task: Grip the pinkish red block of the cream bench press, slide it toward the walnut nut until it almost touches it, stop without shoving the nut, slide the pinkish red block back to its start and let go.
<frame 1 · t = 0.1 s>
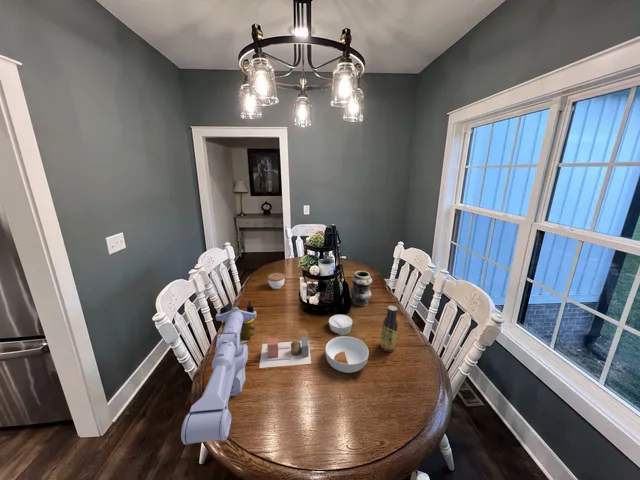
hand: (240, 303, 105), 22 cm above the table, tool horizontal, fingers open, 7 cm apart
pinkish red block: (273, 347, 105), point 5 cm above the table, slide at 0.0 cm
sauce bottle: (387, 348, 112), on the table
cereal bowl: (346, 364, 103), on the table
walnut: (296, 352, 107), point 1 cm above the table, touching press base
condiment: (246, 337, 119), on the table
apothecary jar: (360, 302, 150), on the table
ramekin: (340, 330, 124), on the table
lidded jar: (276, 287, 168), on the table
press base: (285, 356, 107), on the table
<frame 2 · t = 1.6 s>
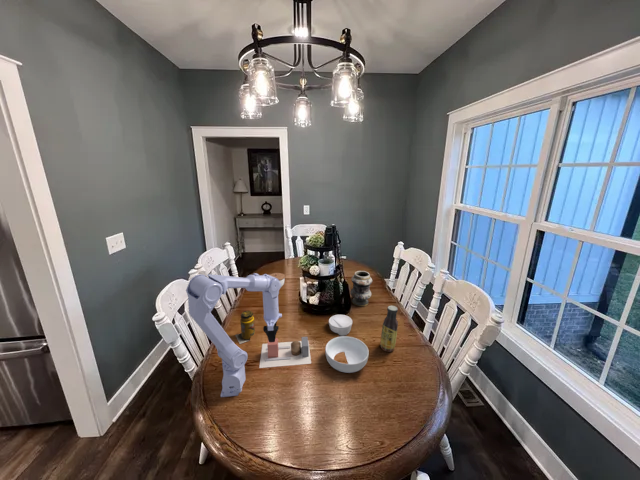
hand: (272, 335, 103), 10 cm above the table, tool pointing down, fingers open, 7 cm apart
nothing on the table moved.
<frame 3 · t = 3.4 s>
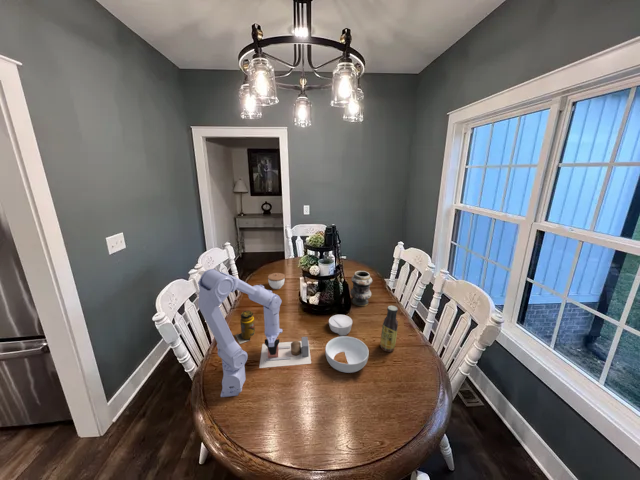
hand: (273, 350, 105), 3 cm above the table, tool pointing down, fingers closed on pinkish red block, 4 cm apart
pinkish red block: (273, 347, 105), point 5 cm above the table, slide at 0.0 cm, touching gripper
everything else where it was.
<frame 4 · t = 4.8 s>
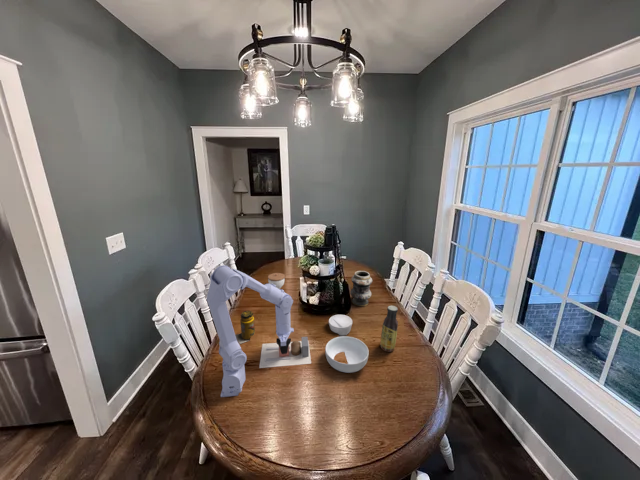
hand: (284, 349, 106), 3 cm above the table, tool pointing down, fingers closed on pinkish red block, 4 cm apart
pinkish red block: (284, 346, 105), point 5 cm above the table, slide at 4.4 cm, touching gripper
everything else where it was.
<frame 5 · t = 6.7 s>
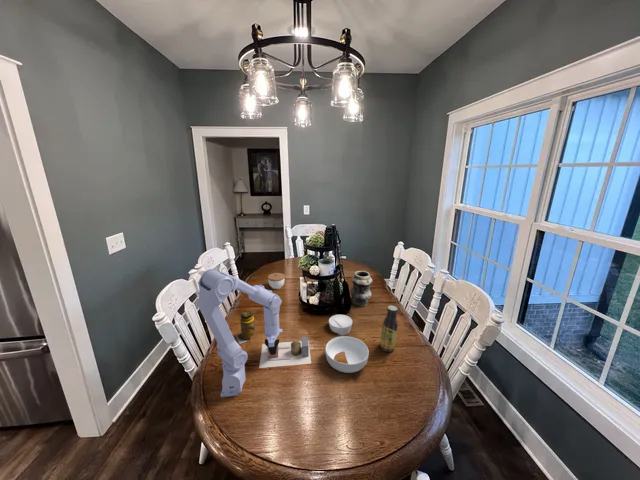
hand: (273, 350, 105), 3 cm above the table, tool pointing down, fingers closed on pinkish red block, 4 cm apart
pinkish red block: (273, 347, 105), point 5 cm above the table, slide at 0.0 cm, touching gripper
everything else where it was.
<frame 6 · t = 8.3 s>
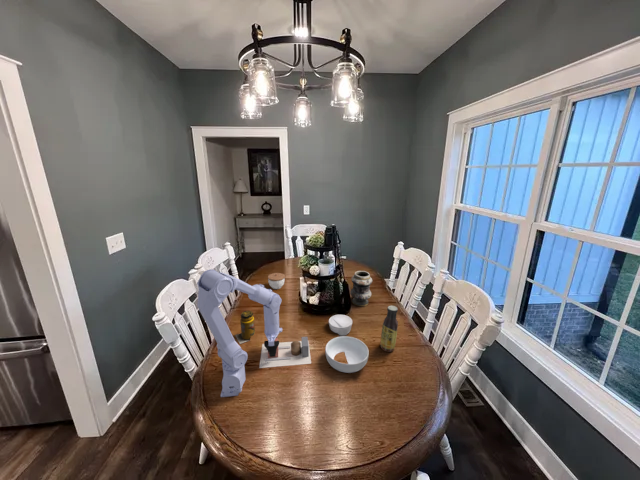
hand: (273, 349, 105), 4 cm above the table, tool pointing down, fingers open, 7 cm apart
pinkish red block: (273, 347, 105), point 5 cm above the table, slide at 0.0 cm
everything else where it was.
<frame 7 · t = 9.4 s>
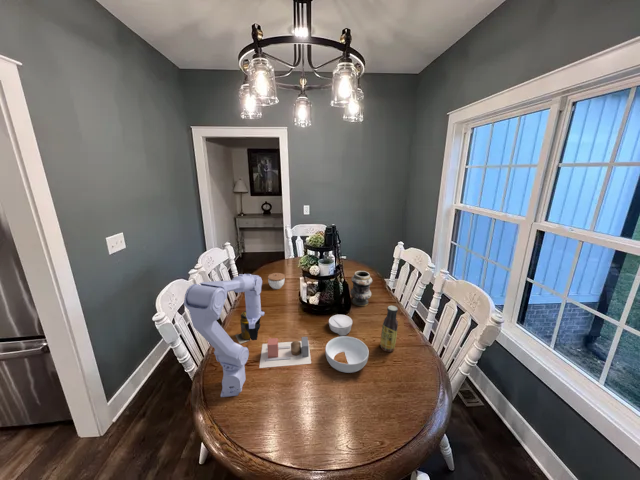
hand: (255, 333, 104), 10 cm above the table, tool pointing down, fingers open, 7 cm apart
nothing on the table moved.
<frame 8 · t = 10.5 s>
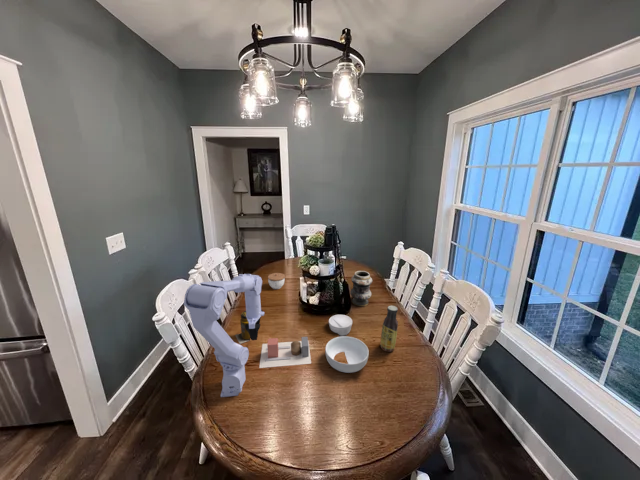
hand: (255, 333, 104), 10 cm above the table, tool pointing down, fingers open, 7 cm apart
nothing on the table moved.
at the end: pinkish red block slide at 0.0 cm; walnut moved 0.0 cm from its start; the gripper is holding nothing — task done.
